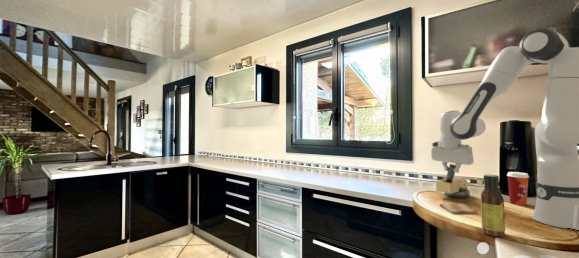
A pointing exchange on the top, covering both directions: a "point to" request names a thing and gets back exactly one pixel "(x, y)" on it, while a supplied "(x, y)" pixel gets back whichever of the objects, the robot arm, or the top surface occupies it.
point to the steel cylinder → (450, 173)
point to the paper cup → (518, 187)
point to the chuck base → (459, 194)
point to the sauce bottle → (492, 207)
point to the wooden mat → (458, 209)
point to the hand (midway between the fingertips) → (451, 171)
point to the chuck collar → (451, 185)
